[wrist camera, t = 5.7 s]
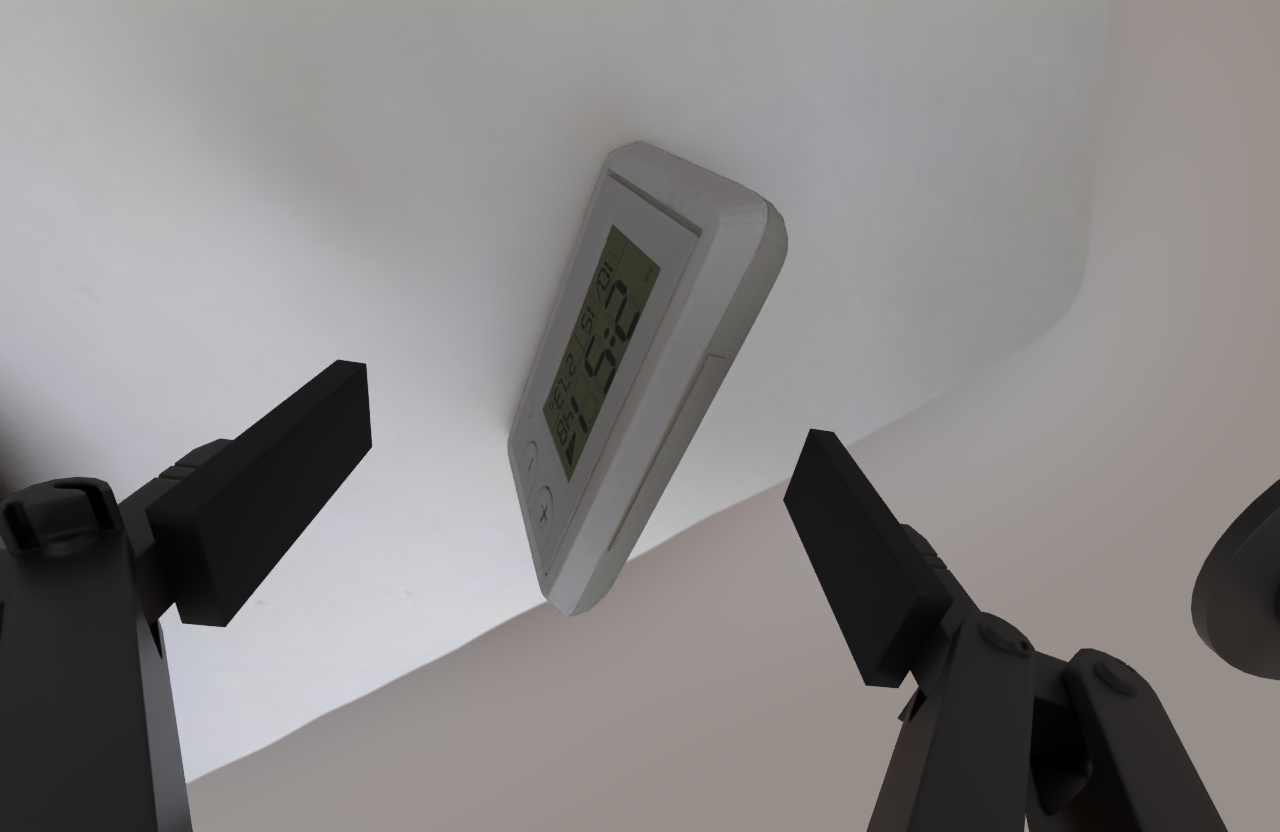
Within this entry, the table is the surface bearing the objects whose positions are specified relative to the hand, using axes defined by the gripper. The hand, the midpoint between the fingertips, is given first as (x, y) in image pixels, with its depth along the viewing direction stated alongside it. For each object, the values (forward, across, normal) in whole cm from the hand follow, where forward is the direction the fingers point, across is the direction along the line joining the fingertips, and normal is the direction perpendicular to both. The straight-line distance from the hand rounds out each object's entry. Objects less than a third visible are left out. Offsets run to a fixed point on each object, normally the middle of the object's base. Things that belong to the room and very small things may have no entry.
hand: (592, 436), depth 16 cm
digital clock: (+11, 0, 0) cm, 11 cm away
